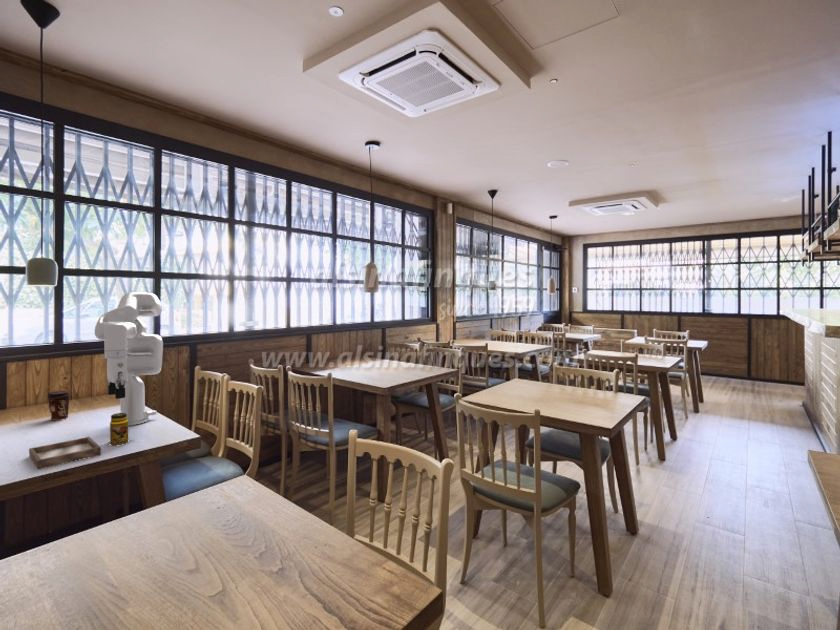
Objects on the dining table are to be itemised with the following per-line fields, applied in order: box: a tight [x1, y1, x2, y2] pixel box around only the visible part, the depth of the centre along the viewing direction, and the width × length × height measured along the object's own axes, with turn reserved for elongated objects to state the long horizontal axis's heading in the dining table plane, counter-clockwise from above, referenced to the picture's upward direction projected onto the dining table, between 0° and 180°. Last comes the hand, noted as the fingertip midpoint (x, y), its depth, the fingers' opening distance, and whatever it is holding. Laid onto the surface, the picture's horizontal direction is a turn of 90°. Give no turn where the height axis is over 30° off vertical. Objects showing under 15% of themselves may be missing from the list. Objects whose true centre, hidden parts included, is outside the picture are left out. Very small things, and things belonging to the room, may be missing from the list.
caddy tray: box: [28, 436, 102, 470], centre depth 160 cm, size 18×17×3 cm
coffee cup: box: [47, 390, 71, 421], centre depth 204 cm, size 9×8×13 cm
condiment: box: [100, 412, 134, 447], centre depth 174 cm, size 7×8×12 cm
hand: (116, 396), depth 173 cm, fingers open, 9 cm apart
